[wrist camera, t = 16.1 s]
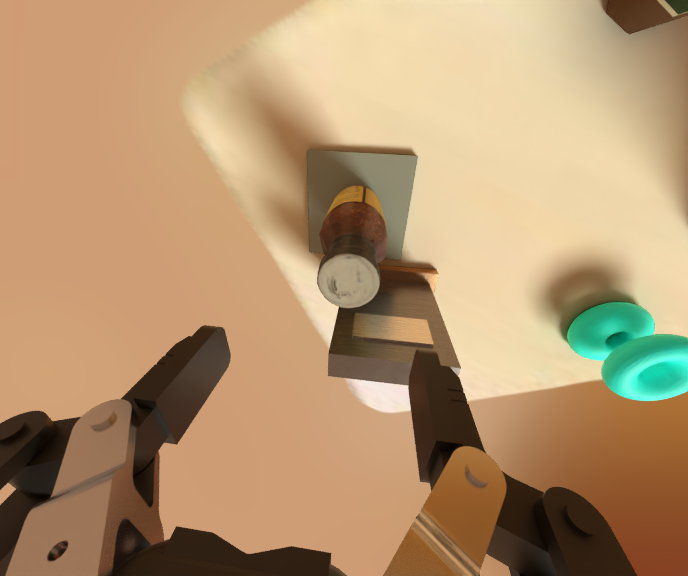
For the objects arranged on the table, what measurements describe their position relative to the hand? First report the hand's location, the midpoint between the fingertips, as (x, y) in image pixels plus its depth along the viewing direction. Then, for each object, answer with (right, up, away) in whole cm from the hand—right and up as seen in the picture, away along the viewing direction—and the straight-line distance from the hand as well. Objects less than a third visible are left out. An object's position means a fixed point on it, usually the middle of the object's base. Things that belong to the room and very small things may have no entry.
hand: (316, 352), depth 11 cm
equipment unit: (+7, +3, +28) cm, 30 cm away
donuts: (+40, -3, +28) cm, 49 cm away
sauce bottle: (+3, +13, +23) cm, 26 cm away
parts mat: (+3, +13, +23) cm, 27 cm away
